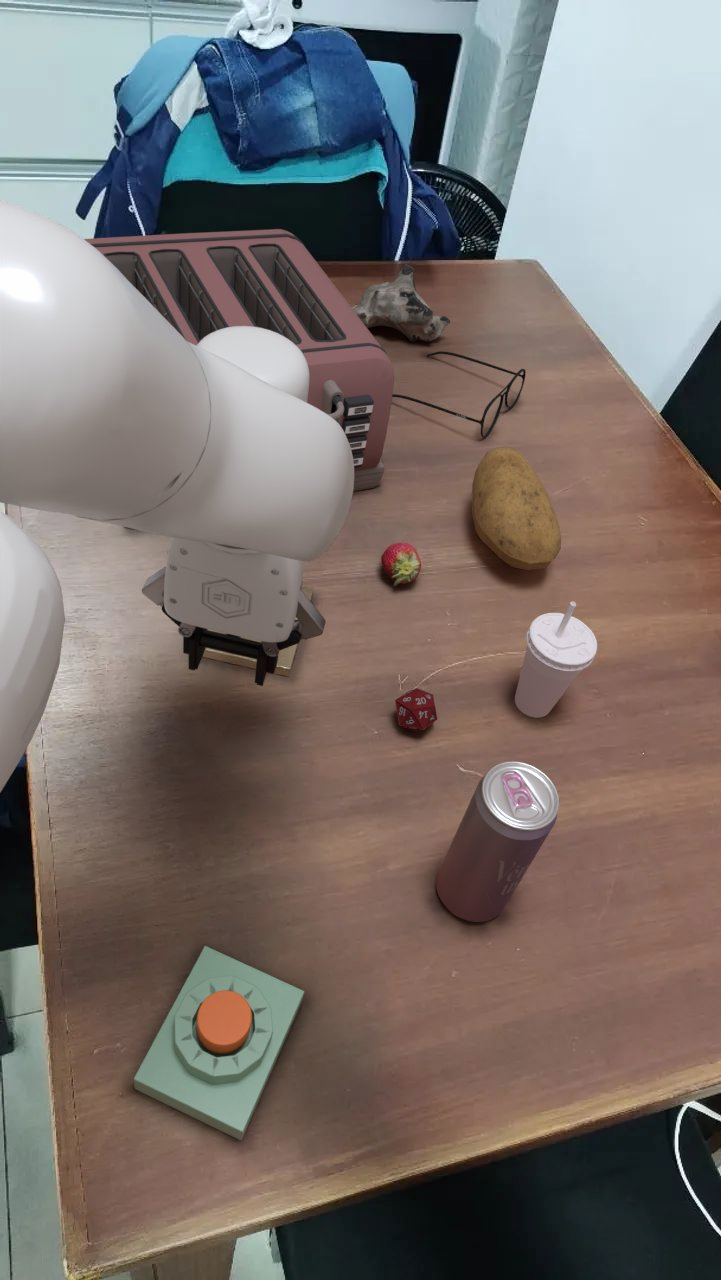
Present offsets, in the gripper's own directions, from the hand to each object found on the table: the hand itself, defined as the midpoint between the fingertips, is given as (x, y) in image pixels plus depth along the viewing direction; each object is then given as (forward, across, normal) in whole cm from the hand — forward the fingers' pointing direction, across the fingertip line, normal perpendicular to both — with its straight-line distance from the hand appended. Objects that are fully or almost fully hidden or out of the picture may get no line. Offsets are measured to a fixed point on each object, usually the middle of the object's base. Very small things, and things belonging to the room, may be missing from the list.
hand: (230, 663), depth 78 cm
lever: (-3, 0, +6) cm, 7 cm away
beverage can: (+7, +24, -12) cm, 28 cm away
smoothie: (+7, +28, +10) cm, 31 cm away
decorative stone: (+8, +4, +73) cm, 73 cm away
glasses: (+8, +15, +59) cm, 62 cm away
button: (+3, +7, -28) cm, 29 cm away
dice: (+7, +17, +4) cm, 19 cm away
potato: (+8, +24, +32) cm, 40 cm away
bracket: (+7, 0, +11) cm, 13 cm away
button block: (+7, +7, -28) cm, 30 cm away
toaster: (+8, -12, +40) cm, 42 cm away
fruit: (+8, +13, +23) cm, 27 cm away
